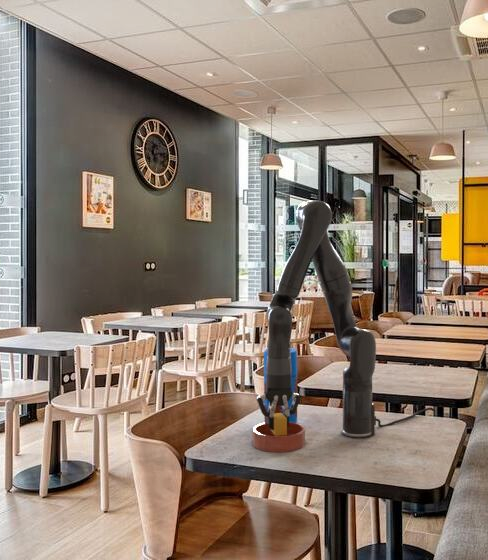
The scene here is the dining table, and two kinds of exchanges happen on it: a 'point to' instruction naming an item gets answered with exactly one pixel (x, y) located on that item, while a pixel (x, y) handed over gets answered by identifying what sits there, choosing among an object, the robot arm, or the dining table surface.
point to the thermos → (293, 386)
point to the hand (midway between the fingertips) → (278, 428)
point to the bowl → (279, 438)
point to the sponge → (279, 424)
